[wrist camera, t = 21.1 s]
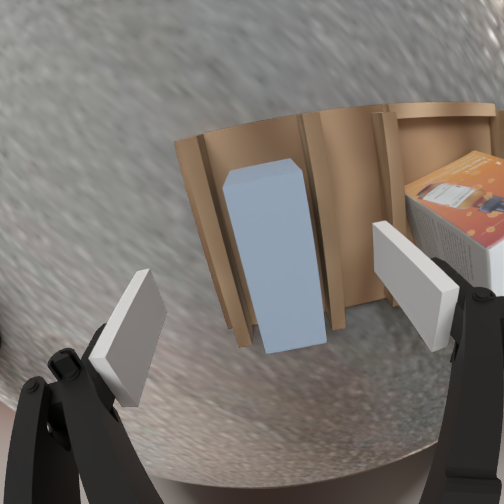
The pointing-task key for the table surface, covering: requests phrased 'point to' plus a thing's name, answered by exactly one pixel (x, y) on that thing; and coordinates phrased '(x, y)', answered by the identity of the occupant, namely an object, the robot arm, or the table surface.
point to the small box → (462, 217)
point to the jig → (331, 187)
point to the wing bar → (277, 252)
